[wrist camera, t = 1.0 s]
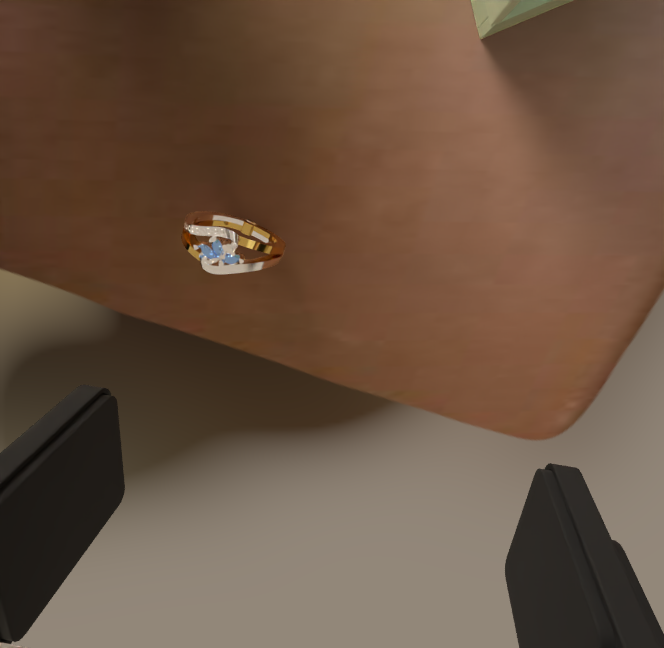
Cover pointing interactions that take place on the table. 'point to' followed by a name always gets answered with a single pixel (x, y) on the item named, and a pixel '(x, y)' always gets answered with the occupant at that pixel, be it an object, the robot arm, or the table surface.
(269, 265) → the ring
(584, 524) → the robot arm
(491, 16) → the chest lid
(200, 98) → the table surface
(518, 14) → the chest
